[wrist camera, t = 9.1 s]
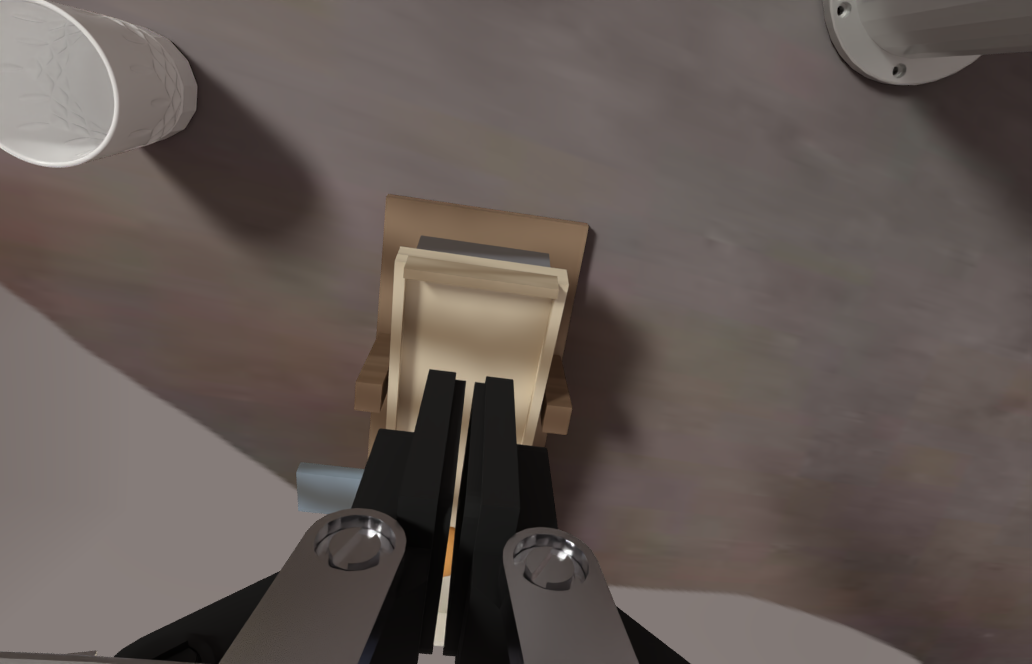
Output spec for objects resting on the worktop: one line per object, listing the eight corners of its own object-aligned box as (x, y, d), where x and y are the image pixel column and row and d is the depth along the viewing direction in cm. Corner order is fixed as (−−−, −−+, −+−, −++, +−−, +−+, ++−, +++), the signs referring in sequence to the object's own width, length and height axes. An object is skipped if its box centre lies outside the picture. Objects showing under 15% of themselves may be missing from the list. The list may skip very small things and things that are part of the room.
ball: (456, 517, 49) (450, 569, 47) (477, 532, 52) (472, 581, 50) (414, 520, 50) (406, 570, 48) (436, 534, 53) (430, 582, 51)
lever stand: (388, 194, 42) (361, 221, 33) (586, 223, 43) (608, 256, 34) (368, 470, 50) (343, 546, 42) (534, 488, 51) (541, 566, 43)
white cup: (223, 55, 38) (135, 45, 29) (189, 169, 41) (98, 194, 31) (95, -10, 37) (-41, -42, 27) (68, 113, 39) (-65, 122, 30)
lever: (304, 211, 36) (273, 250, 31) (566, 248, 38) (573, 291, 33) (313, 471, 48) (291, 528, 43) (512, 492, 49) (512, 550, 44)
